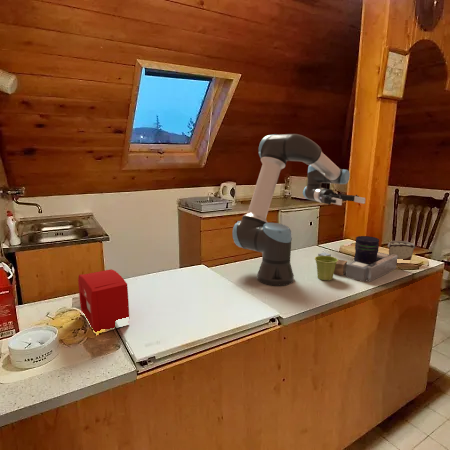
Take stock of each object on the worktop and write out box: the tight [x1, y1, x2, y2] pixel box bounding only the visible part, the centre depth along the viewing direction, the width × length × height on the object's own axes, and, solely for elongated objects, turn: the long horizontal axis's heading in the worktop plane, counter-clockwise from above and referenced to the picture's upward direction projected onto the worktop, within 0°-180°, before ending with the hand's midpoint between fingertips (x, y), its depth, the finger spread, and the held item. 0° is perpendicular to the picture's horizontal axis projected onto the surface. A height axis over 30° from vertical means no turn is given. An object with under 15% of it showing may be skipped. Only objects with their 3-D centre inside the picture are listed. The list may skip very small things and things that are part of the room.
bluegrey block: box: [317, 251, 332, 257], centre depth 161 cm, size 4×4×6 cm
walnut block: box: [333, 259, 348, 276], centre depth 153 cm, size 5×6×5 cm
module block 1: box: [345, 260, 368, 282], centre depth 147 cm, size 8×7×6 cm
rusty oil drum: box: [353, 235, 380, 265], centre depth 154 cm, size 10×10×15 cm
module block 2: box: [377, 251, 390, 261], centre depth 161 cm, size 8×8×6 cm
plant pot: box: [314, 255, 339, 281], centre depth 146 cm, size 9×9×9 cm
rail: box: [365, 254, 398, 283], centre depth 151 cm, size 2×25×6 cm, turn 131°
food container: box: [387, 240, 416, 261], centre depth 167 cm, size 12×6×10 cm, turn 84°
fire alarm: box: [77, 268, 130, 332], centre depth 108 cm, size 16×11×15 cm
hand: (353, 201), depth 160 cm, fingers open, 13 cm apart
